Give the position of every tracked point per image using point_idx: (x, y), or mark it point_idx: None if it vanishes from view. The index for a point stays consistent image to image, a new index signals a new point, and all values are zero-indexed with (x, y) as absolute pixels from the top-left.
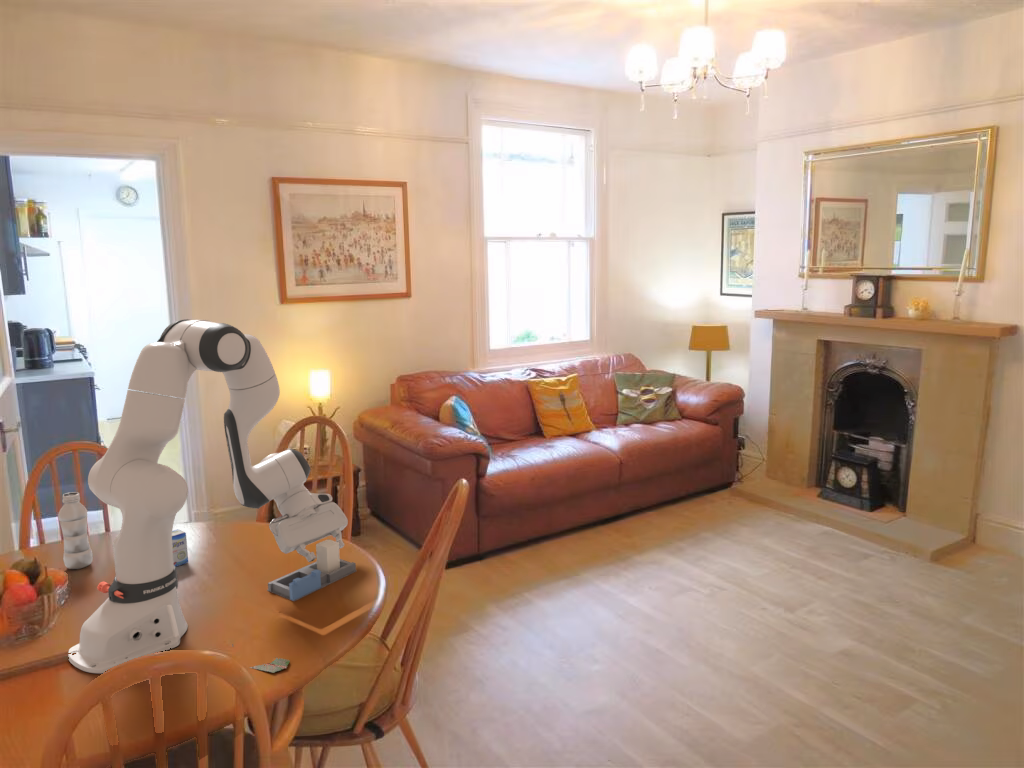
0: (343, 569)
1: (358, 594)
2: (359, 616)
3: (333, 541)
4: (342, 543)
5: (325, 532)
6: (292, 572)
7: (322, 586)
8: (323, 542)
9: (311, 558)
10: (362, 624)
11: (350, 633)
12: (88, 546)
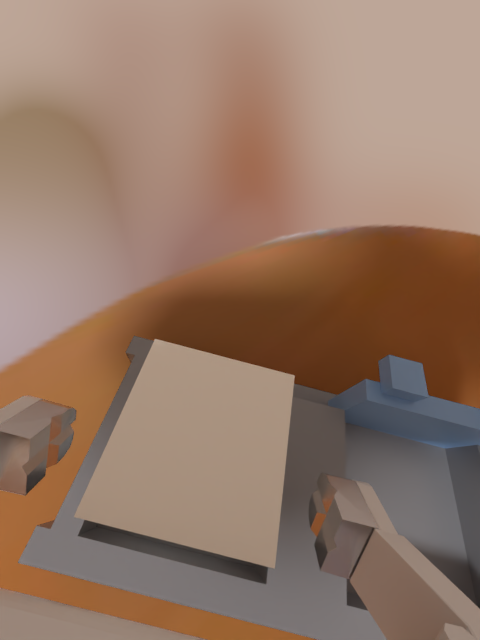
0: None
1: (280, 284)
2: (363, 243)
3: (139, 401)
4: (30, 404)
5: (11, 597)
6: None
7: (321, 397)
8: (196, 498)
9: (369, 484)
10: (381, 228)
11: (418, 235)
12: None
